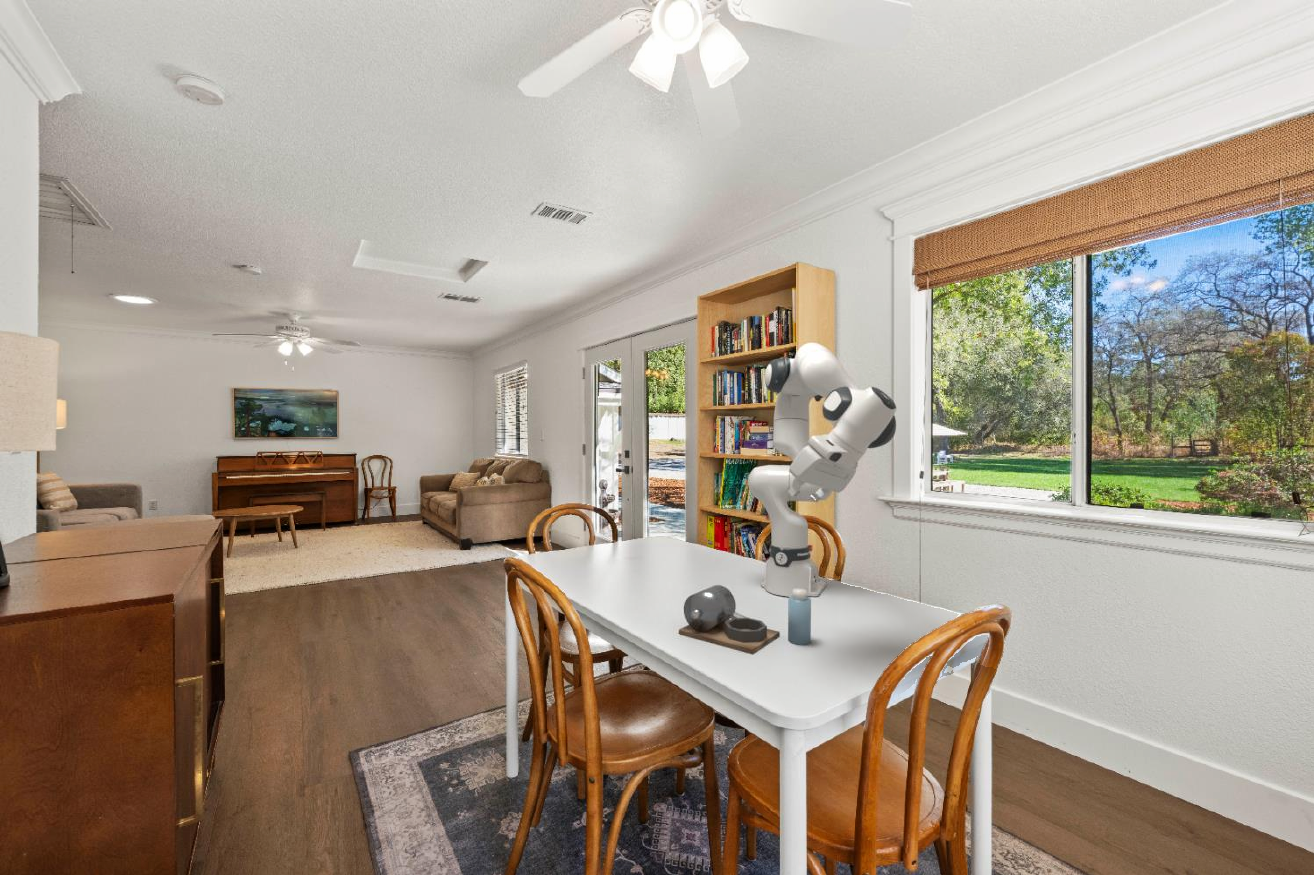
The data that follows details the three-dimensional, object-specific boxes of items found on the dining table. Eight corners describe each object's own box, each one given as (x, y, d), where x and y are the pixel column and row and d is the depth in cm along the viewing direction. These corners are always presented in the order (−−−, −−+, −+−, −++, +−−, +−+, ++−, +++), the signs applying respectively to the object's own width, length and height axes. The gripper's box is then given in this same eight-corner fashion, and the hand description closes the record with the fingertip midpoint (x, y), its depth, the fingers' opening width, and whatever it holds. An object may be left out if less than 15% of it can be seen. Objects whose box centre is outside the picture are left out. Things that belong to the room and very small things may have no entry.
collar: (737, 625, 138) (738, 615, 138) (771, 633, 133) (771, 623, 133) (718, 636, 131) (719, 625, 131) (753, 645, 125) (754, 634, 125)
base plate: (709, 618, 146) (709, 614, 146) (779, 635, 134) (779, 631, 134) (678, 633, 135) (678, 629, 135) (752, 654, 123) (752, 649, 123)
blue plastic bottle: (793, 635, 135) (793, 586, 135) (814, 640, 132) (814, 589, 131) (784, 641, 131) (784, 590, 130) (805, 646, 127) (805, 594, 127)
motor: (705, 616, 145) (705, 582, 145) (735, 624, 139) (735, 588, 139) (678, 629, 135) (679, 592, 135) (710, 638, 130) (710, 599, 130)
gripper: (851, 453, 136) (816, 495, 140) (807, 434, 122) (770, 482, 127) (870, 468, 132) (833, 512, 136) (826, 451, 118) (787, 500, 122)
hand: (802, 497), depth 131 cm, fingers open, 8 cm apart
